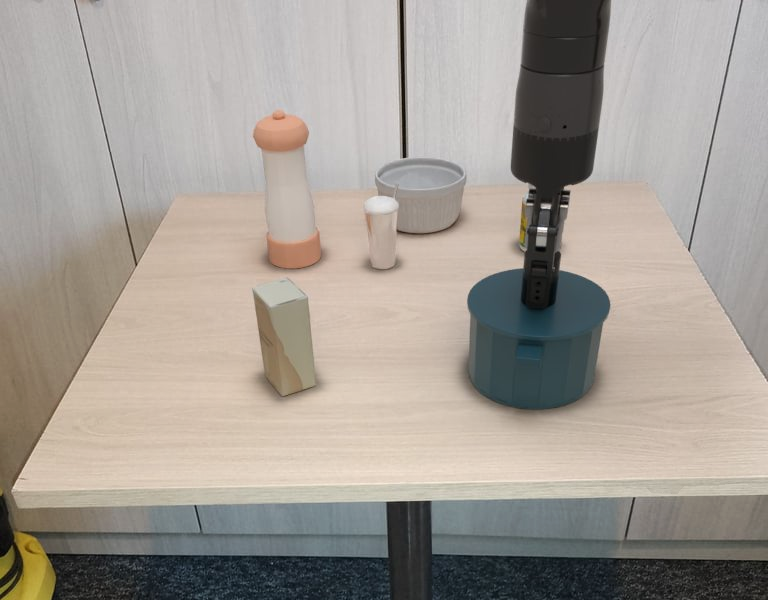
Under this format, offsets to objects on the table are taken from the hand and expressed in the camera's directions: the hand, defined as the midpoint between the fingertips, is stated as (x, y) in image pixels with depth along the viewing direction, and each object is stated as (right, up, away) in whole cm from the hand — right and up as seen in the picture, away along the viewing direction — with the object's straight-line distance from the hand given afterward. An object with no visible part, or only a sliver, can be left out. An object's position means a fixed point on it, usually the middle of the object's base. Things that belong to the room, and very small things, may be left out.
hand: (538, 296), depth 83 cm
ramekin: (-10, +21, +38) cm, 45 cm away
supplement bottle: (+6, +15, +30) cm, 33 cm away
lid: (0, -1, +1) cm, 1 cm away
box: (-26, -8, +7) cm, 28 cm away
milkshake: (-16, +12, +28) cm, 34 cm away
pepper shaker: (-28, +13, +30) cm, 44 cm away
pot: (0, -7, +6) cm, 9 cm away
